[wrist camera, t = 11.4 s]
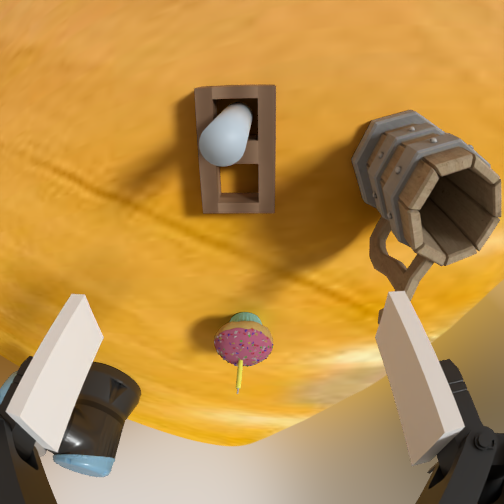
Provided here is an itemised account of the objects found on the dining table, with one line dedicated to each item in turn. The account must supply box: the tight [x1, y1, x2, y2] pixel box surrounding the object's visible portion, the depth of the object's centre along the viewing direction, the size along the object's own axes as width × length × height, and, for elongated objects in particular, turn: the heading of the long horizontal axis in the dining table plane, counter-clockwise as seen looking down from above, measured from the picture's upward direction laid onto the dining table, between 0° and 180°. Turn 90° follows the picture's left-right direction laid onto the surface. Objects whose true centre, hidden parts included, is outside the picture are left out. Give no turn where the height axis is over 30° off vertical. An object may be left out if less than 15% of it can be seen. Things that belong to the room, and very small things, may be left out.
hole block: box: [194, 85, 276, 213], centre depth 33 cm, size 8×14×3 cm, turn 1°
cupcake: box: [214, 312, 273, 394], centre depth 44 cm, size 9×8×12 cm
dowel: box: [199, 102, 253, 166], centre depth 27 cm, size 3×3×14 cm
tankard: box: [351, 110, 501, 324], centre depth 30 cm, size 20×13×15 cm, turn 158°
